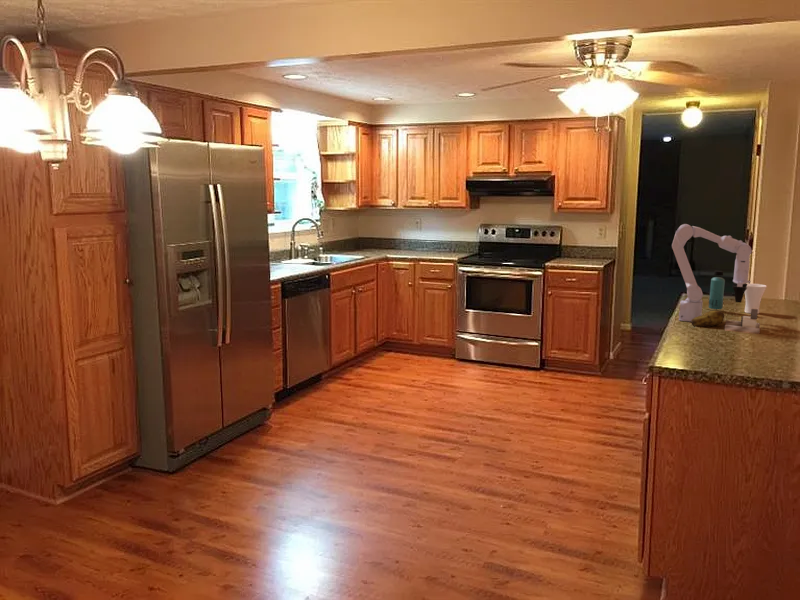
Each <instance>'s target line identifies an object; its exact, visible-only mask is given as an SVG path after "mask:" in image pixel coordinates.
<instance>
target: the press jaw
mask: <svg viewBox="0 0 800 600" xmlns="http://www.w3.org/2000/svg"><path fill="white" fill-rule="evenodd" d="M758 314H759V313H758V309H751V313H750V316H747V315H743V316H741V318H740V322H741V326H742V327H753V328H756V323H757V319H758Z"/></svg>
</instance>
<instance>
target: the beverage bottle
mask: <svg viewBox="0 0 800 600" xmlns="http://www.w3.org/2000/svg"><path fill="white" fill-rule="evenodd" d="M713 276H715V277H712V278H711V279H710V286H709V297H708V298H709V300H708V308H709V309H711V310H722V309H723V307H724V306H723V305H724V296H725V295H724V293H725V292H724V291H725V283H726V279H725V278H724V277H720V276H724V271H722V270H714V272H713Z"/></svg>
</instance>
